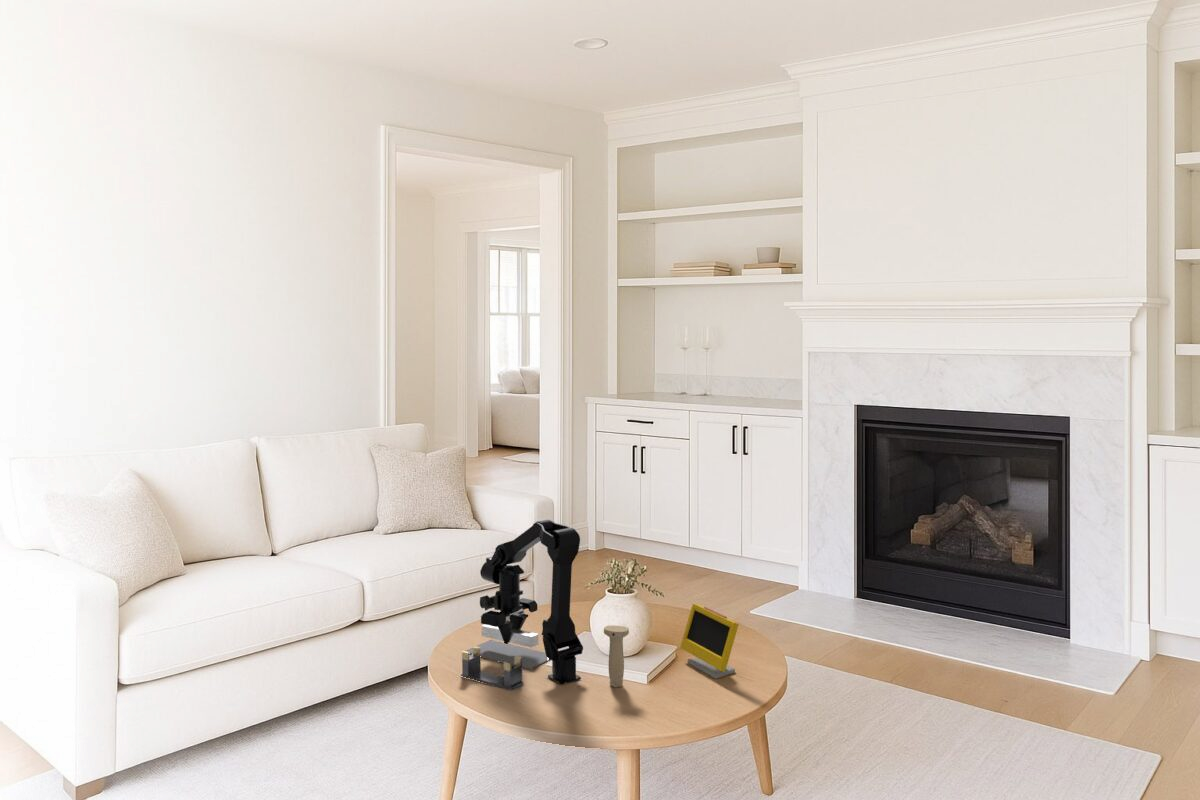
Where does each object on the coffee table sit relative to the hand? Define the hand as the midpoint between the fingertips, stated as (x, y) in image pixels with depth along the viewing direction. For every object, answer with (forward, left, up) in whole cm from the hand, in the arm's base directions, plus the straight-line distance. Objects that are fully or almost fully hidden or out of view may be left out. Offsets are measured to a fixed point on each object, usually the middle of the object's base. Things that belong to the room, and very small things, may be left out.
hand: (510, 641), depth 266 cm
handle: (-36, -10, -4) cm, 38 cm away
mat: (0, 0, -4) cm, 4 cm away
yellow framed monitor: (-42, -38, -4) cm, 57 cm away
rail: (0, 0, 0) cm, 1 cm away
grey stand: (-14, +14, -4) cm, 20 cm away
